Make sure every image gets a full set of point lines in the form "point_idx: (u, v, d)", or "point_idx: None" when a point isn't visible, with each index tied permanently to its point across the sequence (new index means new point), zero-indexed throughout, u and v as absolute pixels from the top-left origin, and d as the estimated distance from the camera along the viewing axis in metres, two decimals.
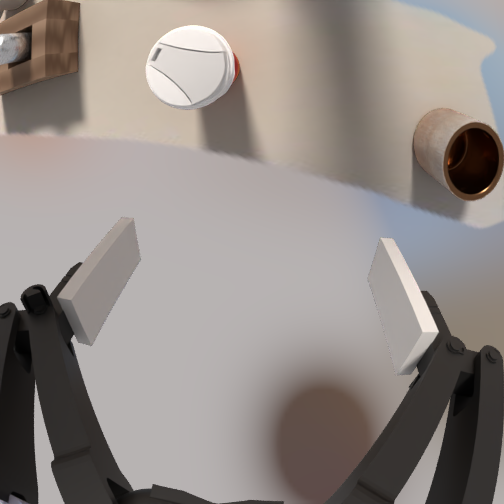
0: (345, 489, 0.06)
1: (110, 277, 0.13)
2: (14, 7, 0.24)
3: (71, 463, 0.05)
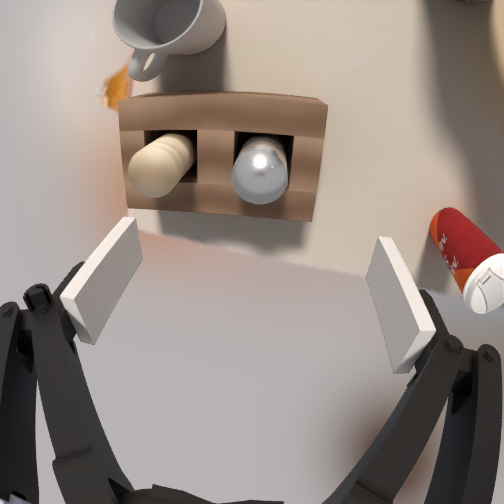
0: (344, 488, 0.06)
1: (112, 276, 0.13)
2: (187, 54, 0.28)
3: (72, 463, 0.05)
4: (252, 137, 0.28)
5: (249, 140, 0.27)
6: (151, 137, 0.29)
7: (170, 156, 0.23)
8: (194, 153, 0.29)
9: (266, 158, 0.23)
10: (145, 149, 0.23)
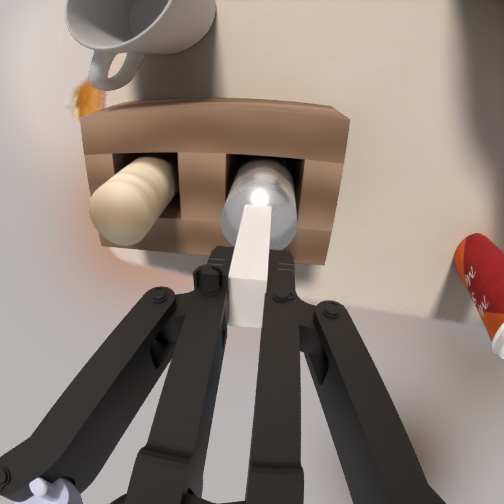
0: (248, 473, 0.06)
1: None
2: (168, 53, 0.22)
3: (162, 462, 0.05)
4: (250, 159, 0.22)
5: (246, 164, 0.22)
6: (124, 160, 0.23)
7: (138, 194, 0.17)
8: (176, 181, 0.23)
9: (268, 197, 0.17)
10: (107, 185, 0.17)
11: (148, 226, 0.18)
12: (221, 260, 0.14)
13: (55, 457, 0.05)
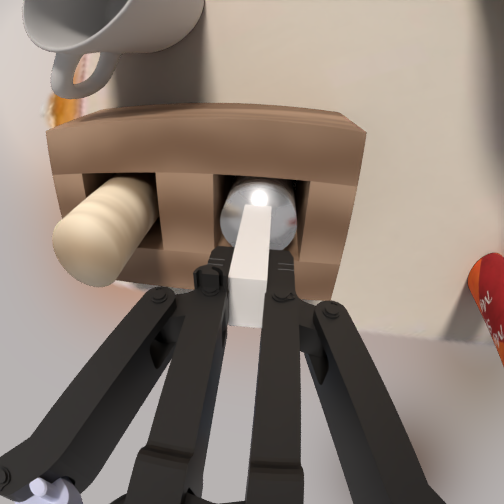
0: (248, 473, 0.06)
1: None
2: (149, 51, 0.18)
3: (162, 462, 0.05)
4: None
5: None
6: (99, 179, 0.20)
7: (105, 230, 0.14)
8: (156, 205, 0.19)
9: (267, 197, 0.17)
10: (68, 219, 0.13)
11: (119, 267, 0.15)
12: (221, 260, 0.14)
13: (55, 457, 0.05)
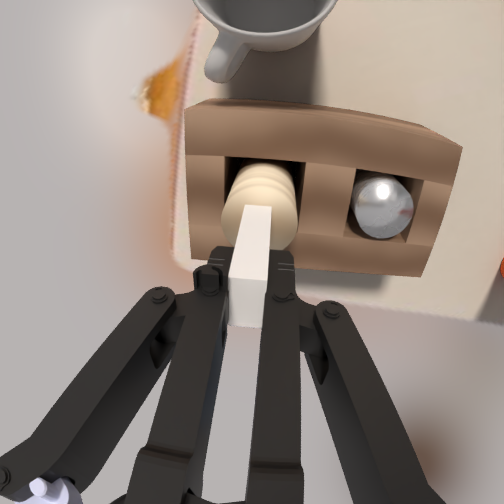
0: (248, 473, 0.06)
1: None
2: (271, 51, 0.21)
3: (161, 461, 0.05)
4: None
5: None
6: (228, 164, 0.22)
7: (290, 202, 0.17)
8: None
9: (396, 190, 0.19)
10: (253, 189, 0.17)
11: (293, 236, 0.18)
12: (221, 260, 0.14)
13: (55, 457, 0.05)
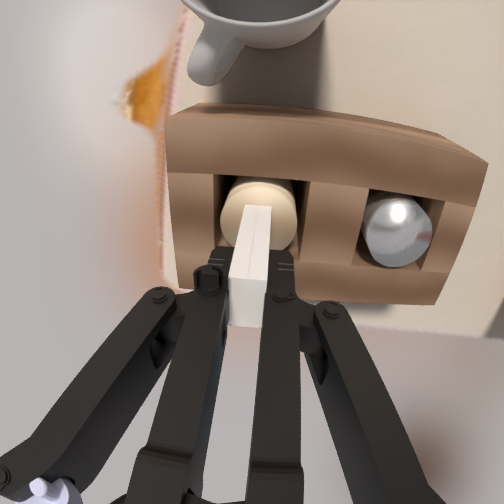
0: (248, 473, 0.06)
1: None
2: (269, 47, 0.18)
3: (161, 462, 0.05)
4: None
5: None
6: (219, 181, 0.19)
7: (290, 202, 0.17)
8: None
9: (414, 214, 0.16)
10: (252, 190, 0.17)
11: (293, 236, 0.18)
12: (221, 260, 0.14)
13: (55, 457, 0.05)
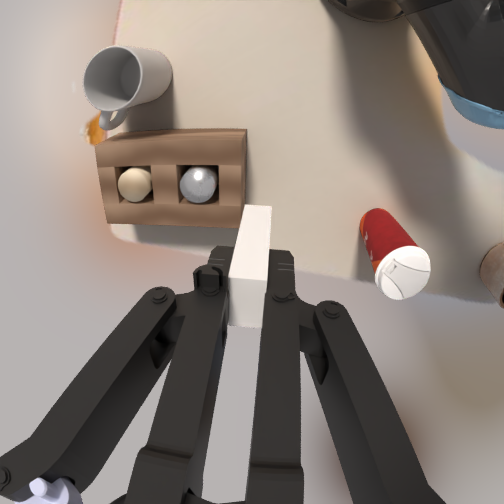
0: (248, 473, 0.06)
1: None
2: None
3: (162, 462, 0.05)
4: None
5: None
6: (121, 170, 0.39)
7: (143, 175, 0.37)
8: None
9: (199, 173, 0.37)
10: (127, 171, 0.37)
11: (147, 190, 0.38)
12: (221, 260, 0.14)
13: (55, 457, 0.05)
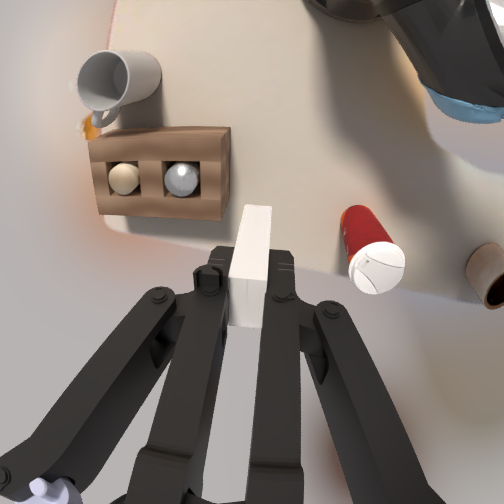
0: (248, 473, 0.06)
1: None
2: None
3: (161, 462, 0.05)
4: None
5: None
6: (112, 165, 0.41)
7: (131, 170, 0.39)
8: None
9: (182, 169, 0.39)
10: (117, 166, 0.39)
11: (135, 184, 0.40)
12: (221, 260, 0.14)
13: (55, 457, 0.05)
